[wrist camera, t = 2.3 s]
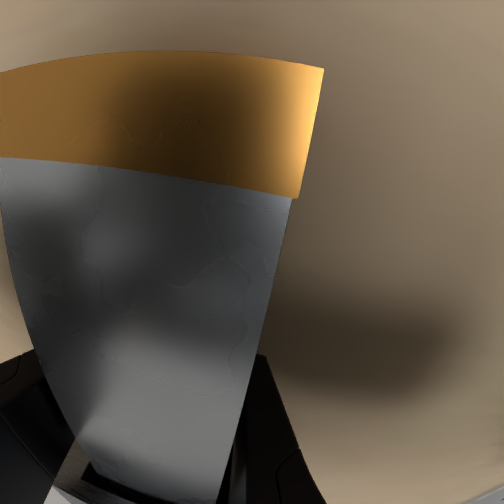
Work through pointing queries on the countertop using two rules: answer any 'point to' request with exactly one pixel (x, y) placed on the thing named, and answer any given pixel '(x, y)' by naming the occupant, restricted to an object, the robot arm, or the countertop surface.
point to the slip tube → (151, 246)
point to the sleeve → (93, 482)
